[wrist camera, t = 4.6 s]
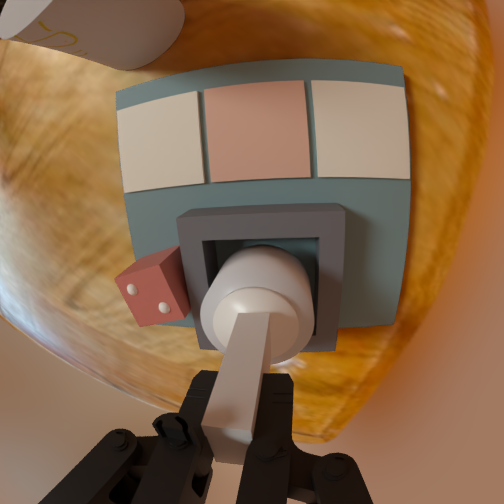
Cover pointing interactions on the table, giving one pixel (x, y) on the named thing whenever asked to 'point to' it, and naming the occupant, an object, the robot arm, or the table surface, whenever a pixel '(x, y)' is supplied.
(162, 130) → the board
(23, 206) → the table surface
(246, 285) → the dome
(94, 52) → the white cylinder
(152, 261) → the die
